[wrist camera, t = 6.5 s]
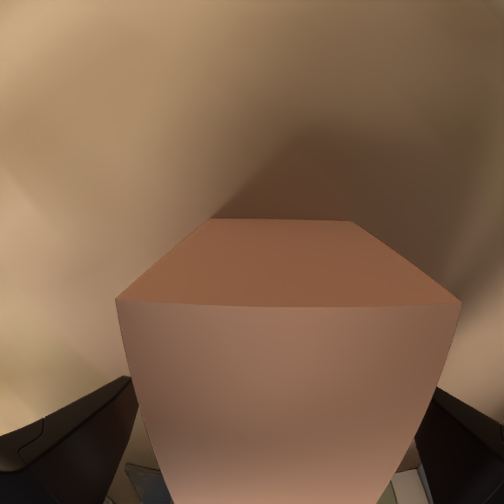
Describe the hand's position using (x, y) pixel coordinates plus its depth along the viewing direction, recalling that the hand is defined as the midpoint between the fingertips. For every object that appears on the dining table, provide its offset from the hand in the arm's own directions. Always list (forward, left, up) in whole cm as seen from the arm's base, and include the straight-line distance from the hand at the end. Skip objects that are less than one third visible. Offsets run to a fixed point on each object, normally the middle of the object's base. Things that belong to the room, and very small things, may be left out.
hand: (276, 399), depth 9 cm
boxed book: (0, 0, -2) cm, 2 cm away
